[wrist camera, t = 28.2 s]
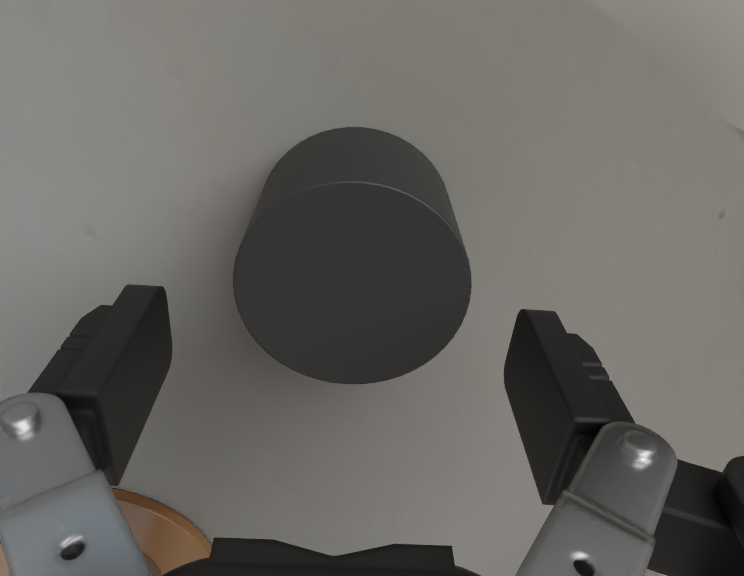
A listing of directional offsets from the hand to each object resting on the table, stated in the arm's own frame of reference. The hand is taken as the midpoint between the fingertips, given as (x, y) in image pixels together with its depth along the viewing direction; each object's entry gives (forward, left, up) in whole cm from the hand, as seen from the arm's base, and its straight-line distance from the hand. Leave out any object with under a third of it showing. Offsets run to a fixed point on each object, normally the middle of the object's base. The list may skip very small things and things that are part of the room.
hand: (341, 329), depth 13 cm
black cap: (0, 0, -6) cm, 6 cm away
